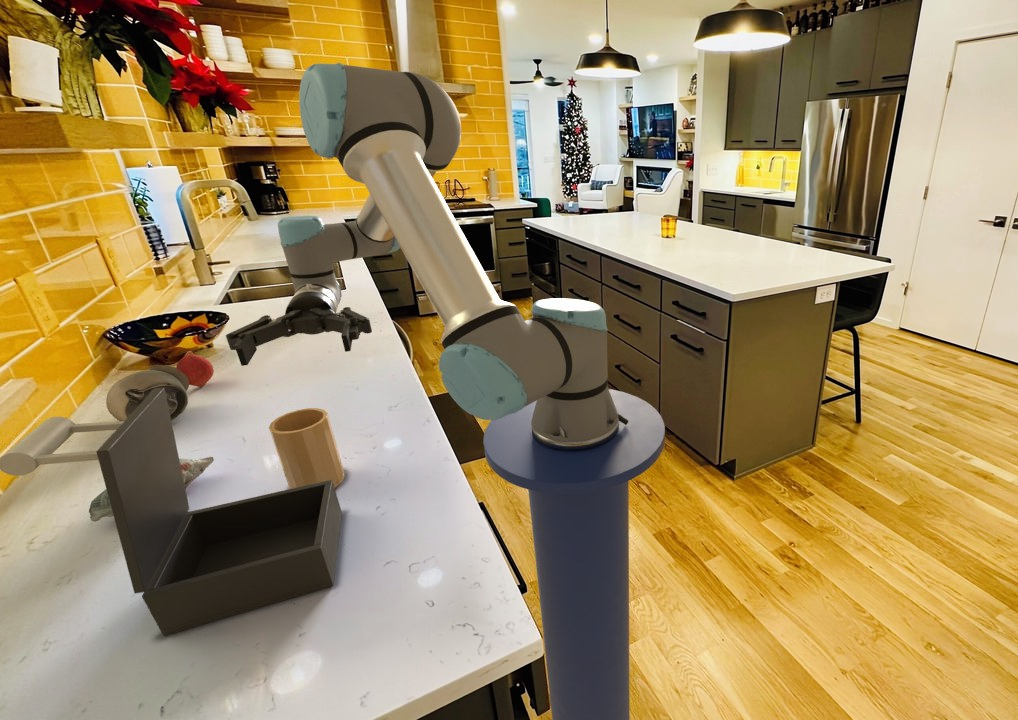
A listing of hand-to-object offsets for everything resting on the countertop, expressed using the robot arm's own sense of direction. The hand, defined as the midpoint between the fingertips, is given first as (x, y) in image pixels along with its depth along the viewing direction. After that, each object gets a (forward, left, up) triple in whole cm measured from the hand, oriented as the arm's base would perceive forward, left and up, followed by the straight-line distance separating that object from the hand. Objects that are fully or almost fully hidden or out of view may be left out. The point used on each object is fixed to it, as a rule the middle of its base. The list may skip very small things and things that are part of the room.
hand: (295, 350), depth 77 cm
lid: (+10, +26, -4) cm, 28 cm away
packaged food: (+20, +5, -18) cm, 28 cm away
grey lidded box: (+4, +26, -18) cm, 32 cm away
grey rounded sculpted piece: (+28, -22, -18) cm, 40 cm away
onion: (+26, -37, -18) cm, 49 cm away
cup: (0, +10, -18) cm, 21 cm away
